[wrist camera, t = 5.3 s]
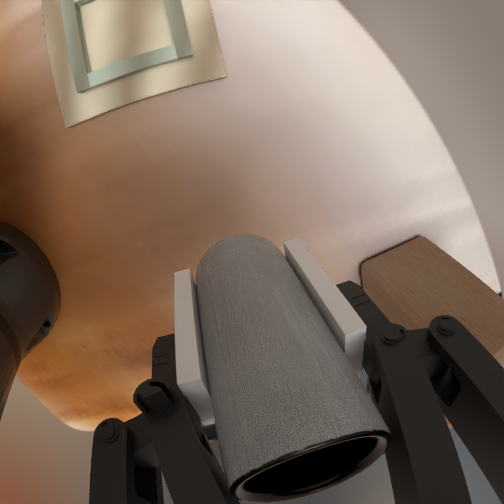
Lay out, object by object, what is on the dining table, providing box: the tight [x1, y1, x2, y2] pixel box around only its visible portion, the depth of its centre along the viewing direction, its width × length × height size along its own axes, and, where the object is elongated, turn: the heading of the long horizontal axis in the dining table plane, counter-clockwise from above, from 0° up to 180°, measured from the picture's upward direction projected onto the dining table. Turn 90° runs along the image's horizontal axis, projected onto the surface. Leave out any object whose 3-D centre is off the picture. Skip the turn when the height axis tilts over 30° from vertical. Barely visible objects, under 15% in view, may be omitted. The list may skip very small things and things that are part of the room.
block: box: [361, 237, 504, 428], centre depth 28 cm, size 10×10×20 cm
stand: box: [42, 0, 227, 128], centre depth 18 cm, size 14×14×2 cm
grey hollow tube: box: [196, 235, 391, 503], centre depth 11 cm, size 4×4×10 cm
